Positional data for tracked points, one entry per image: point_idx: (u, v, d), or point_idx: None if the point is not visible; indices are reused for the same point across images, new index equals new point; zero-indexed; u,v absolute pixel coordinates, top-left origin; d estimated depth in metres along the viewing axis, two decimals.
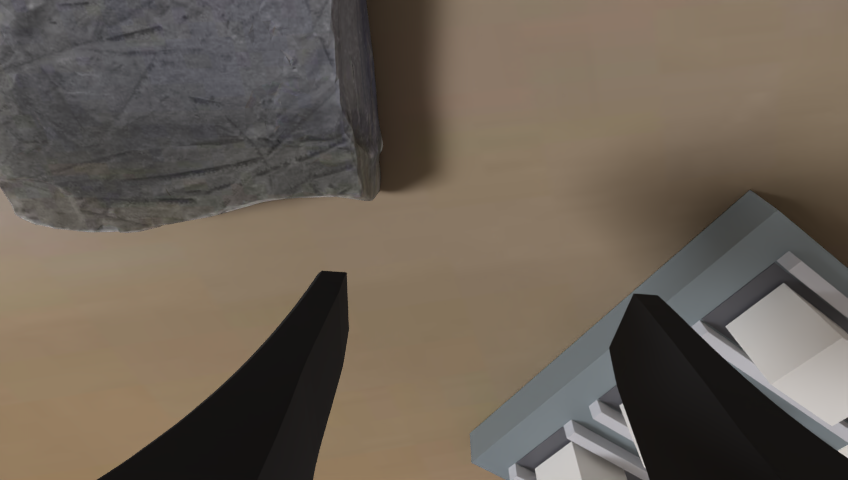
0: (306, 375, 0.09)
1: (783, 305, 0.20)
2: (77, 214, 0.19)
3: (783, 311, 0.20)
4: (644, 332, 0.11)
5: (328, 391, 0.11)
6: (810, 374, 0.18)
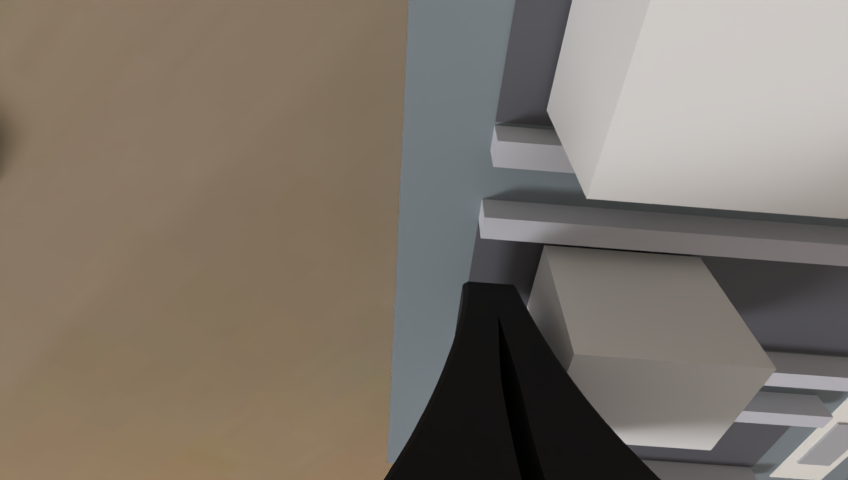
0: None
1: None
2: None
3: (589, 7, 0.08)
4: None
5: None
6: (665, 127, 0.06)
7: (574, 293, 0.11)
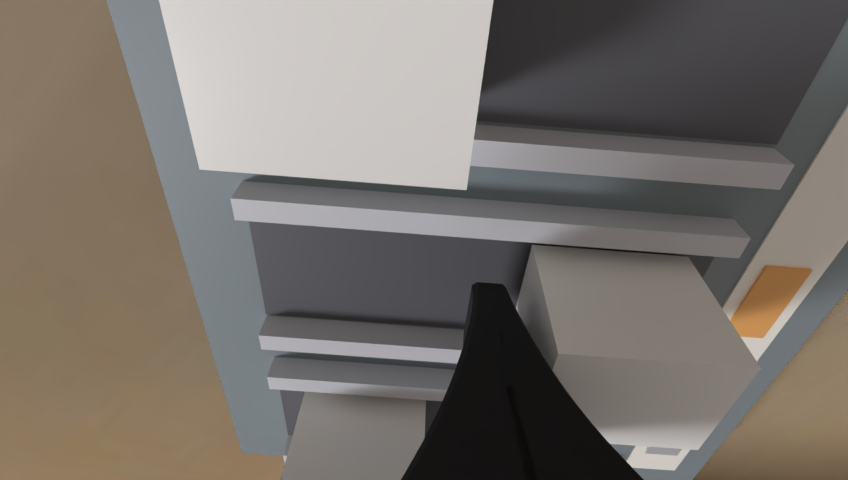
0: None
1: None
2: None
3: None
4: None
5: None
6: (236, 93, 0.06)
7: (560, 293, 0.11)
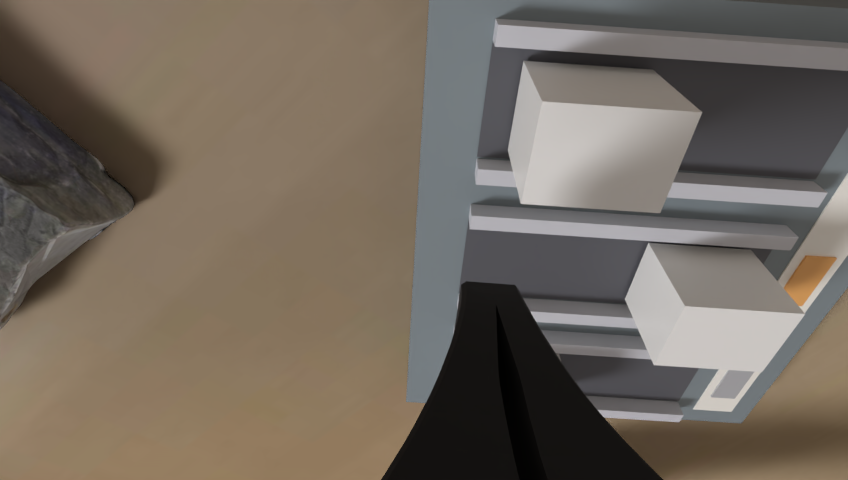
0: None
1: (523, 92, 0.14)
2: None
3: (523, 99, 0.14)
4: None
5: None
6: (556, 167, 0.13)
7: (675, 272, 0.17)
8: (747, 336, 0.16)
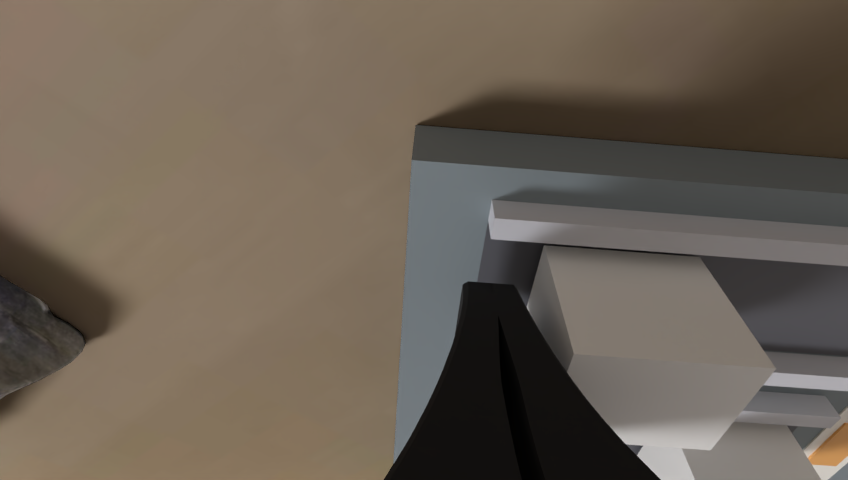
0: None
1: (544, 289, 0.12)
2: None
3: (544, 299, 0.12)
4: None
5: None
6: None
7: (699, 461, 0.15)
8: None
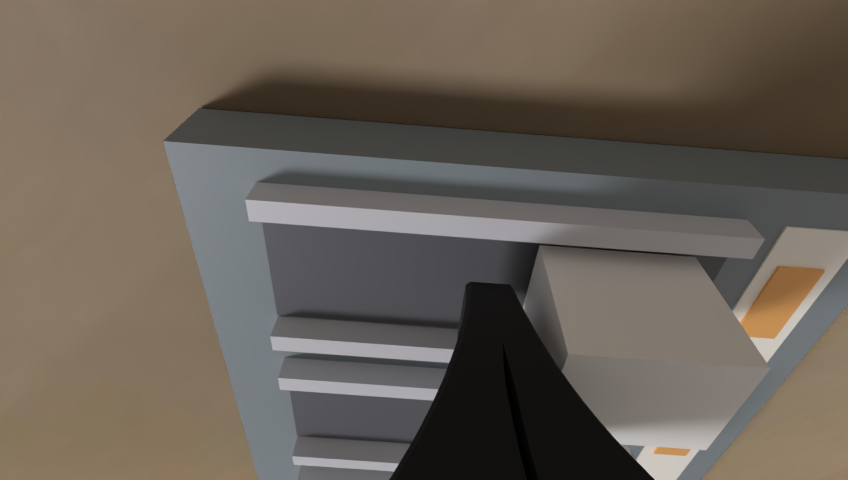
0: None
1: (539, 289, 0.12)
2: None
3: (540, 299, 0.12)
4: None
5: None
6: None
7: None
8: None
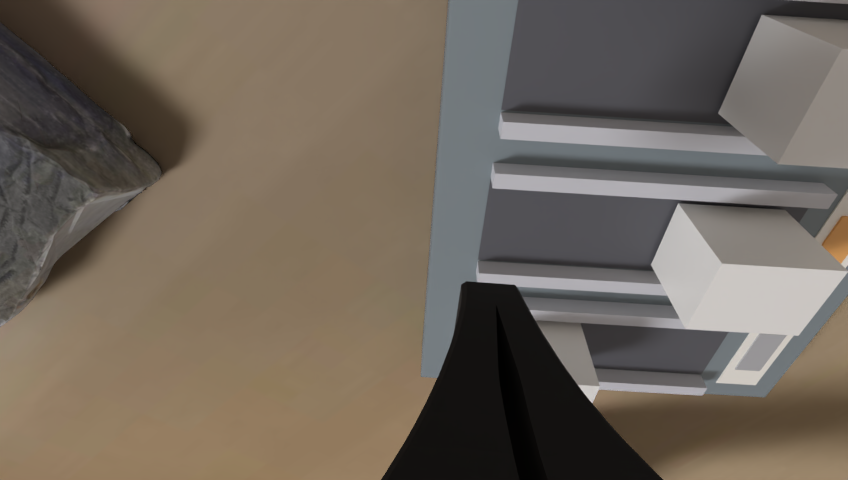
0: None
1: (768, 47, 0.13)
2: None
3: (769, 54, 0.13)
4: None
5: None
6: (830, 124, 0.12)
7: (709, 231, 0.16)
8: (785, 296, 0.16)
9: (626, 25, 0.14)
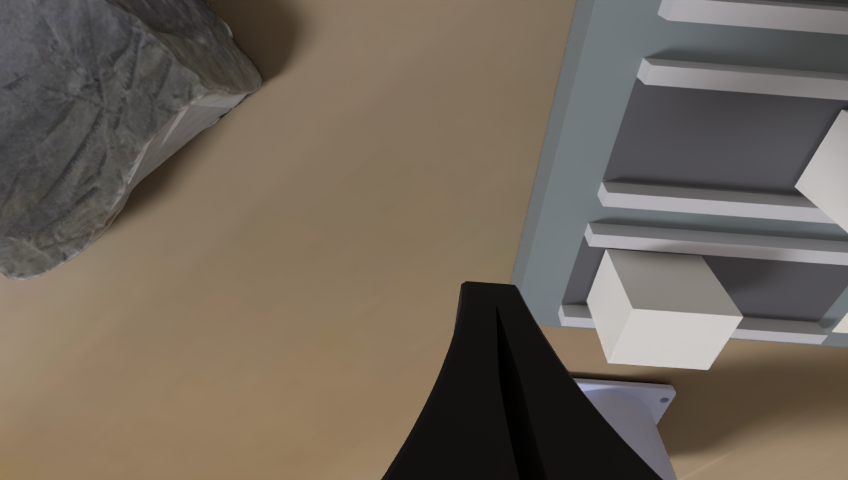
0: None
1: None
2: (42, 254, 0.20)
3: None
4: None
5: None
6: None
7: None
8: None
9: None
